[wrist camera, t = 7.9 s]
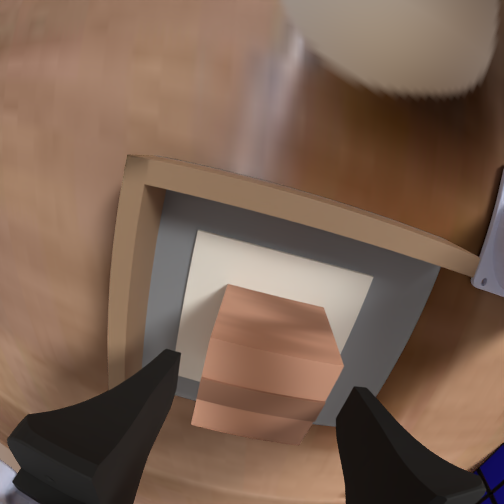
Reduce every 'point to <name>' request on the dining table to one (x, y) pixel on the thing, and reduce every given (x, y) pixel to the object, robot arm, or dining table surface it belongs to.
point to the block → (266, 367)
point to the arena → (261, 270)
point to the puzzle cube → (493, 478)
